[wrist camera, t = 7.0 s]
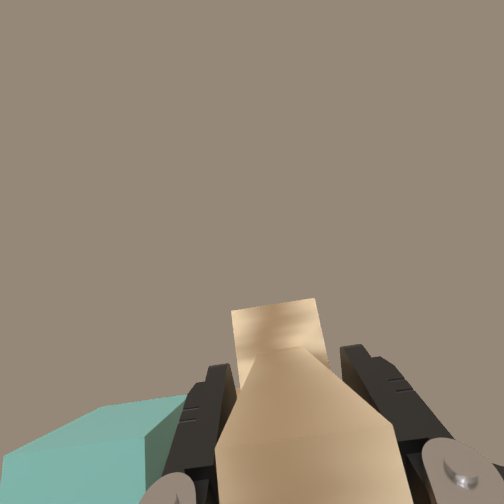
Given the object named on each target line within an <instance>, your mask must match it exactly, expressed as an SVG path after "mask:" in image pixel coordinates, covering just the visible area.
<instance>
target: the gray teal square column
mask: <svg viewBox="0 0 504 504" xmlns="http://www.w3.org/2000/svg"><path fill="white" fill-rule="evenodd" d="M186 397H187V395H180V396H173V397H166V398H159V399H152V400H145V401H139V402H132V403H125V404H117V405H110V406H103V407H100V408H98V409H96V410H94V411H92V412H90V413H88V414H86V415H84V416H82V417H80V418H78V419H76V420H74V421H72V422H70V423H68V424H66V425H64V426H62V427H60V428H58V429H56V430H54V431H52V432H50V433H49V434H46V435H45V436H43V437H40V438H38V439H37V440H35V441H33V442H31V443H29V444H27V445H25V446H23V447H21V448H19V449H17V450H15V451H13V452H11V453H9V454H7V455H5V456H4V459H3V467H2V477H1V485H0V504H139V502H140V500H141V498H142V497H143V495H144V494H145V492H146V491H147V490H148V489H149V488H150V486H151V485H152V484H153V483H155V482H156V481H157V480H158V479H160V478H161V476H162V473H163V470H164V467H165V463H166V460H167V457H168V454H169V451H170V448H171V444H172V441H173V438H174V435H175V432H176V429H177V425H178V424H179V419H180V416H181V413H182V412H183V406H184V403H185V400H186Z"/></svg>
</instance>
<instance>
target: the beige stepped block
mask: <svg viewBox="0 0 504 504" xmlns="http://www.w3.org/2000/svg"><path fill="white" fill-rule="evenodd" d="M231 314H232V322H233V330H234V339H235V347H236V355H237V363H238V372H239V380H240V388H241V392H240V394H239V396H238V398H237V401H236V403H235V405H234V407H233V409H232V412H231V414H230V416H229V418H228V420H227V423H226V425H225V427H224V429H223V431H222V434H221V436H220V438H219V440H218V442H217V445H216V447H215V457H216V469H217V480H218V491H219V502H220V504H413V500H412V496H411V492H410V489H409V485H408V481H407V477H406V474H405V470H404V466H403V462H402V459H401V455H400V451H399V447H398V444H397V440H396V436H395V432H394V429H393V425H392V424H391V423H390V422H389V421H388V420H387V419H385V418H384V417H383V416H382V415H381V414H380V413H378V412H377V411H376V410H375V409H374V408H373V407H372V406H370V405H369V404H368V403H367V402H366V401H365V400H364V399H362V398H361V397H360V396H359V395H358V394H357V393H356V392H354V391H353V390H352V389H351V388H350V387H349V386H348V385H346V384H345V383H344V382H343V381H342V380H340V379H339V378H338V377H337V376H336V375H335V374H334V373H333V372H331V371H330V367H329V362H328V358H327V353H326V348H325V344H324V339H323V335H322V330H321V325H320V321H319V316H318V311H317V307H316V303H315V298H311V299H305V300H298V301H292V302H286V303H279V304H273V305H266V306H260V307H254V308H247V309H241V310H234V311H231Z"/></svg>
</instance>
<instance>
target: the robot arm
mask: <svg viewBox="0 0 504 504" xmlns="http://www.w3.org/2000/svg"><path fill="white" fill-rule="evenodd" d="M340 357H341V368H342V379H343V382H344V383H345V384H346V385H348V386H349V387H350V388H351V389H352V390H353V391H354V392H356V393H357V394H358V395H359V396H360V397H361V398H362V399H364V400H365V401H366V402H367V403H368V404H369V405H370V406H372V407H373V408H374V409H375V410H376V411H377V412H378V413H380V414H381V415H382V416H383V417H384V418H385V419H387V420H388V421H389V422H390V423H391V424H392V425H393V429H394V432H395V436H396V440H397V444H398V447H399V451H400V455H401V459H402V462H403V466H404V470H405V474H406V477H407V481H408V485H409V489H410V492H411V496H412V500H413V504H504V467H503V466H499V465H496V464H493V463H491V462H490V461H489V460H488V459H487V458H486V457H485V456H483V455H482V454H481V453H479V452H478V451H477V450H475V449H474V448H472V447H470V446H468V445H467V444H465V443H462V442H460V441H457V440H455V439H454V438H453V437H452V435H451V434H450V433H449V432H448V431H447V429H446V428H445V427H444V426H443V425H442V423H441V422H440V421H439V420H438V419H437V418H436V416H435V415H434V414H433V412H432V411H431V410H430V409H429V407H428V406H427V405H426V404H425V403H424V401H423V400H422V399H421V398H420V397H419V395H418V394H417V393H416V392H415V391H414V390H413V388H412V387H411V385H410V384H409V383H408V382H407V381H406V380H405V379H404V377H403V376H402V374H401V373H400V372H399V371H398V370H397V368H396V367H395V366H394V365H393V364H391V363H389V362H388V361H386V360H385V359H383V358H382V357H373V358H371V356H370V355H369V353H368V352H367V351H366V349H365V348H364V347H363V345H361V344H356V345H350V346H343V347H340ZM236 401H237V394H236V390H235V385H234V381H233V377H232V372H231V368H230V365H229V364H228V363H227V364H220V365H213V366H209V368H208V372H207V376H206V380H205V382H199V383H196V384H195V385H194V387H193V388H192V389H191V391H190V392H189V393H188V394H187V397H186V400H185V403H184V406H183V412H182V413H181V416H180V419H179V424H178V425H177V429H176V432H175V435H174V438H173V441H172V444H171V448H170V451H169V454H168V457H167V460H166V463H165V467H164V470H163V473H162V476H161V478H160V479H158V480H157V481H156V482H155V483H153V484H152V485H151V486H150V488H149V489H148V490H147V491H146V492H145V494H144V495H143V497H142V498H141V500H140V502H139V504H220V502H219V491H218V480H217V469H216V457H215V447H216V445H217V442H218V440H219V438H220V436H221V434H222V431H223V429H224V427H225V425H226V423H227V420H228V418H229V416H230V414H231V412H232V409H233V407H234V405H235V403H236Z"/></svg>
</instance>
